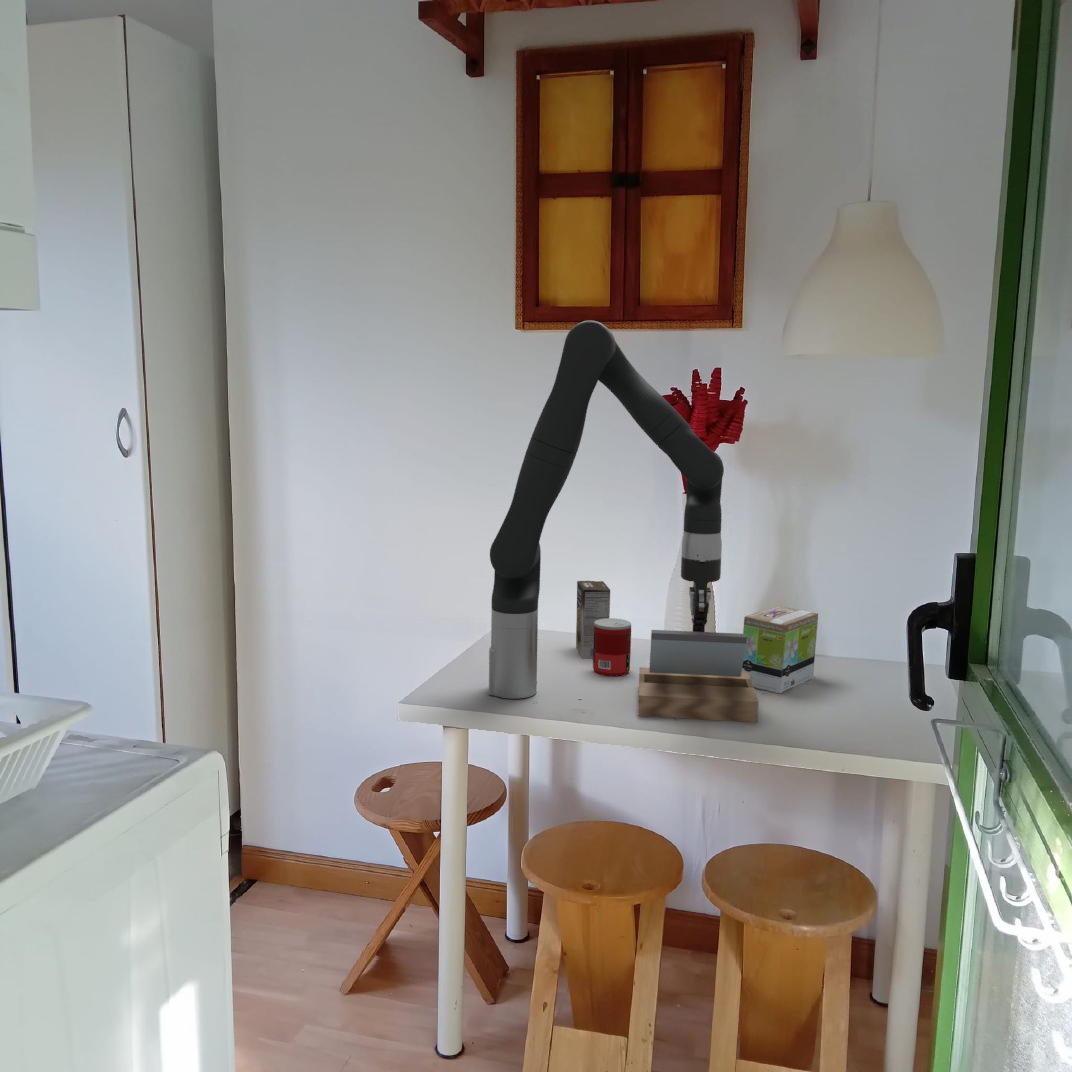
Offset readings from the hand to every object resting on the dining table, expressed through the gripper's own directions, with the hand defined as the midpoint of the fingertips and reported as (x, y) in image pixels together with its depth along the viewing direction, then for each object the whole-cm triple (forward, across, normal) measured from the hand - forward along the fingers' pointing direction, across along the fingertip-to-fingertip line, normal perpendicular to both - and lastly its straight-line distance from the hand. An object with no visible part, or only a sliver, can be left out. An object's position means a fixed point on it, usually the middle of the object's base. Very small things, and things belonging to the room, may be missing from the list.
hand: (698, 642), depth 189 cm
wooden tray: (+12, 0, 0) cm, 12 cm away
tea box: (+13, -17, +18) cm, 28 cm away
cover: (+3, 0, 0) cm, 3 cm away
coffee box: (+12, -32, -22) cm, 41 cm away
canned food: (+12, -18, -17) cm, 28 cm away
